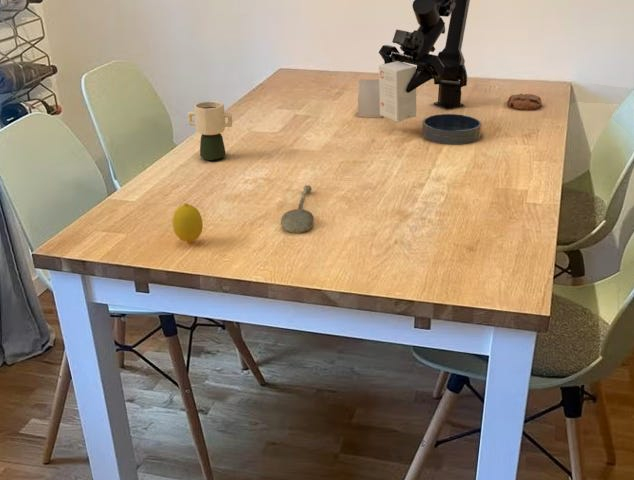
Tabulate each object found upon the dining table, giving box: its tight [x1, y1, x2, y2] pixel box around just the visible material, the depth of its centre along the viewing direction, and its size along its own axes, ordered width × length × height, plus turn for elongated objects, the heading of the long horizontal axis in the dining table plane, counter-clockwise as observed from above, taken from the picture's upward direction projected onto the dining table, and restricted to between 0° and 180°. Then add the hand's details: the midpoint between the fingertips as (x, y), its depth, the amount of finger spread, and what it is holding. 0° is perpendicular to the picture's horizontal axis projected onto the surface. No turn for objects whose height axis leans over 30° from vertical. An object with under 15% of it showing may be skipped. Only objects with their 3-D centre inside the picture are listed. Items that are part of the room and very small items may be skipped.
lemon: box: [172, 203, 204, 244], centre depth 145 cm, size 6×6×8 cm
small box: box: [378, 61, 417, 123], centre depth 199 cm, size 8×6×13 cm
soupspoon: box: [280, 184, 315, 234], centre depth 159 cm, size 22×3×7 cm
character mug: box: [187, 100, 233, 161], centre depth 186 cm, size 11×7×13 cm, turn 80°
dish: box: [421, 113, 483, 145], centre depth 202 cm, size 15×15×4 cm
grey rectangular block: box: [357, 78, 383, 118], centre depth 217 cm, size 4×7×10 cm, turn 80°
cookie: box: [506, 93, 542, 111], centre depth 226 cm, size 10×11×3 cm
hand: (394, 88), depth 198 cm, fingers closed on small box, 8 cm apart
